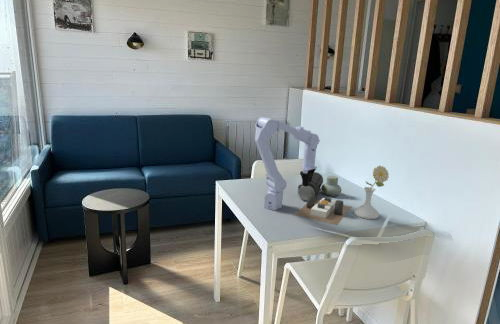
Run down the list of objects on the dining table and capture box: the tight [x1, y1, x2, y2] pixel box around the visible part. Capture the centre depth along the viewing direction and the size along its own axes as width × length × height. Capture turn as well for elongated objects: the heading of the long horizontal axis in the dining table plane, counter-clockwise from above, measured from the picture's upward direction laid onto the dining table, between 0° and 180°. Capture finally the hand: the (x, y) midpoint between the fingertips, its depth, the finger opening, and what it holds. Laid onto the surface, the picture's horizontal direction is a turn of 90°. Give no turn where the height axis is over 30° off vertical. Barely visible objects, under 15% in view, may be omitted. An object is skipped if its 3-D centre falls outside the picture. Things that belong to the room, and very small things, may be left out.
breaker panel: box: [293, 196, 352, 226], centre depth 171 cm, size 26×20×6 cm
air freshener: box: [320, 175, 342, 197], centre depth 196 cm, size 11×8×10 cm
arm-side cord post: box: [306, 194, 316, 209], centre depth 173 cm, size 4×4×6 cm
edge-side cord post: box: [334, 199, 344, 215], centre depth 167 cm, size 4×4×6 cm
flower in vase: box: [353, 165, 390, 220], centre depth 165 cm, size 13×11×25 cm
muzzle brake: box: [297, 171, 324, 202], centre depth 194 cm, size 10×28×10 cm
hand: (306, 184), depth 179 cm, fingers open, 7 cm apart
